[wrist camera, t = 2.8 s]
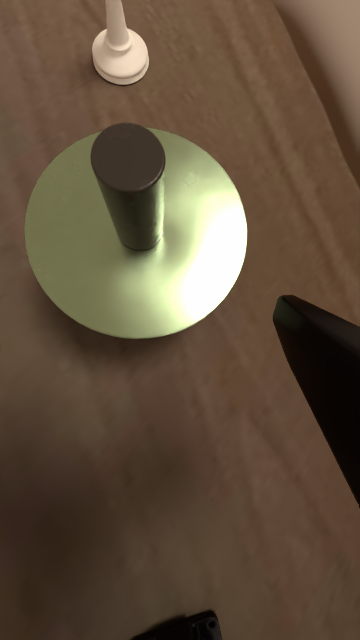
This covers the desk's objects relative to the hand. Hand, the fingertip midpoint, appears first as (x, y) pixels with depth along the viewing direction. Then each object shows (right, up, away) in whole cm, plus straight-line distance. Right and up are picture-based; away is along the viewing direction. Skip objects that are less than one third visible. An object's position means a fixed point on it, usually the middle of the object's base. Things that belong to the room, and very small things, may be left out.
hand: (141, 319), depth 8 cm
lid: (-1, +5, +7) cm, 9 cm away
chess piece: (-4, +23, +15) cm, 28 cm away
